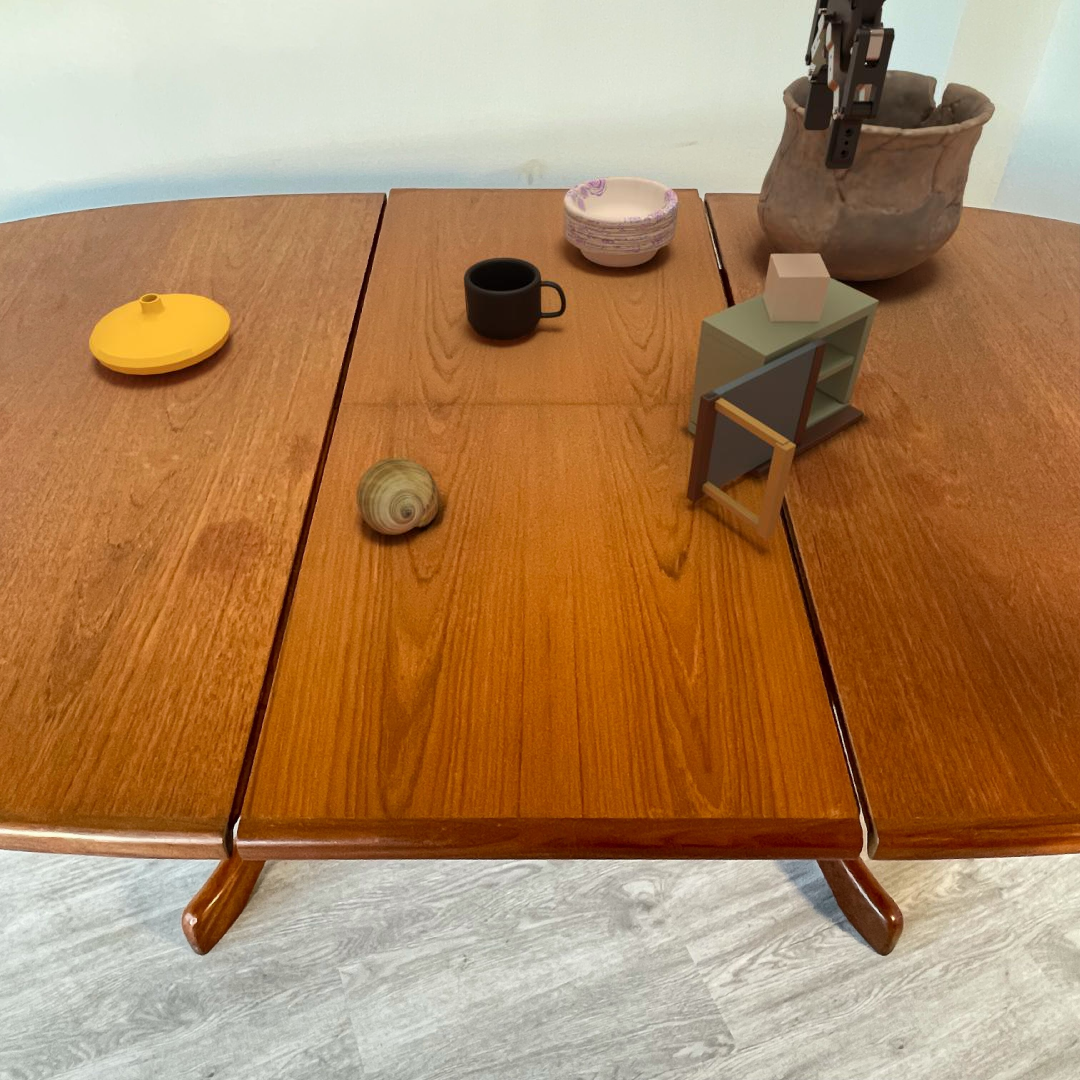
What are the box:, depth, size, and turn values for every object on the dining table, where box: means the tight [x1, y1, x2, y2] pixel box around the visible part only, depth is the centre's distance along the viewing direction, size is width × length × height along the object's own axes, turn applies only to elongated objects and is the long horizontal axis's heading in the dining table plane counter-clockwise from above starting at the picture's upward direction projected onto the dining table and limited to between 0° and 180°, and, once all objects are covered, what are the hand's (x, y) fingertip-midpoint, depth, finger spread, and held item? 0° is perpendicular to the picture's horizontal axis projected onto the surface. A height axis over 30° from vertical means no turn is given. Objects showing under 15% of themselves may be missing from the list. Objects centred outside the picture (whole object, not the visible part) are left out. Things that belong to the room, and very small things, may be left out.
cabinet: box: [687, 277, 879, 479], centre depth 88 cm, size 10×16×13 cm, turn 127°
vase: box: [88, 293, 232, 376], centre depth 102 cm, size 16×16×7 cm
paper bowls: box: [562, 176, 679, 268], centre depth 118 cm, size 15×15×8 cm
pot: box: [756, 69, 996, 282], centre depth 110 cm, size 25×24×21 cm
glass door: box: [686, 338, 827, 541], centre depth 79 cm, size 9×15×12 cm, turn 127°
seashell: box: [356, 457, 440, 536], centre depth 82 cm, size 10×7×8 cm
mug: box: [463, 257, 567, 341], centre depth 104 cm, size 12×9×7 cm
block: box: [763, 253, 831, 322], centre depth 82 cm, size 5×5×5 cm
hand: (825, 147), depth 74 cm, fingers open, 8 cm apart
